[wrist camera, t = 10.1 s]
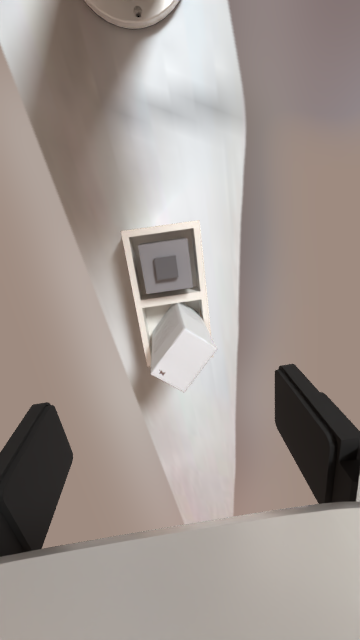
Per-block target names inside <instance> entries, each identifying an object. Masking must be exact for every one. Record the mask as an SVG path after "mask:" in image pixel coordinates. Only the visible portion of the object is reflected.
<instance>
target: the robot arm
mask: <svg viewBox="0 0 360 640" xmlns="http://www.w3.org/2000/svg"><path fill="white" fill-rule="evenodd" d="M84 1H85V3H86V4H87V5H88V6H89V7H90V8H91V9H92V10H93V11H94V12H95V13H96V14H97V15H99V16H100V17H102V18H103V19H105V20H106V21H107V22H110V23H112V24H114V25H117V26H119V27H124V28H129V29H137V28H145V27H148V26H151V25H154V24H156V23H157V22H159V21H161V20H162V19H164V18H165V17H166V16H167V15H168V14H169V13H170V12H171V11H172V10H173V9H174V8H175V6H176V5H177V3H178V2H179V1H180V0H84ZM137 16H140V17H139V18H138V17H137ZM275 423H276V426H277V429H278V431H279V432H280V434H281V436H282V438H283V440H284V442H285V443H286V445H287V447H288V449H289V451H290V452H291V454H292V456H293V458H294V460H295V461H296V463H297V465H298V467H299V469H300V471H301V472H302V474H303V476H304V478H305V480H306V481H307V483H308V485H309V487H310V489H311V490H312V492H313V494H314V496H315V498H316V499H317V501H318V503H319V504H315V505H308V506H301V507H294V508H287V509H280V510H273V511H267V512H260V513H254V514H248V515H242V516H235V517H229V518H223V519H216V520H210V521H204V522H198V523H192V524H186V525H180V526H173V527H167V528H161V529H155V530H150V531H143V532H137V533H131V534H125V535H119V536H114V537H108V538H102V539H96V540H90V541H84V542H79V543H73V544H67V545H61V546H55V547H50V548H44V549H42V546H43V543H44V540H45V537H46V534H47V532H48V529H49V526H50V523H51V520H52V518H53V515H54V511H55V509H56V506H57V503H58V500H59V498H60V495H61V492H62V489H63V486H64V484H65V481H66V478H67V475H68V472H69V469H70V467H71V464H72V460H73V453H72V450H71V448H70V445H69V442H68V440H67V437H66V434H65V432H64V429H63V427H62V424H61V422H60V419H59V416H58V414H57V411H56V409H55V407H54V406H53V405H50V404H49V403H41V404H34V405H32V406H31V408H30V409H29V411H28V412H27V414H26V415H25V417H24V418H23V420H22V421H21V423H20V424H19V426H18V427H17V429H16V430H15V432H14V433H13V435H12V436H11V437H10V439H9V440H8V442H7V444H6V445H5V446H4V448H3V450H2V451H1V452H0V640H360V431H359V430H358V429H357V428H356V427H355V426H354V425H353V424H352V423H351V421H350V420H348V418H347V417H346V416H345V415H344V414H343V413H342V412H341V411H340V410H339V408H338V407H337V406H336V405H335V404H334V403H333V402H332V401H331V400H330V399H329V398H328V397H327V395H325V394H324V393H321V392H319V391H318V390H317V389H316V388H315V387H314V385H312V383H311V382H310V381H309V380H308V379H307V378H306V377H305V375H304V374H303V373H302V372H301V371H300V370H299V369H298V368H297V367H296V366H295V365H294V364H289V365H283V366H279V370H276V371H275Z"/></svg>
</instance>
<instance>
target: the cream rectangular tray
mask: <svg viewBox="0 0 360 640" xmlns="http://www.w3.org/2000/svg"><path fill="white" fill-rule="evenodd" d="M121 235H122V240H123V245H124V250H125V255H126V260H127V266H128V271H129V276H130V281H131V286H132V291H133V296H134V301H135V306H136V312H137V317H138V322H139V327H140V332H141V337H142V342H143V347H144V352H145V358H146V363H147V367H151V353H152V333H153V330H154V329H155V327H156V326H157V324H158V323H159V321H160V320H161V319H162V317H163V316H164V314H165V313H166V311H167V310H168V308H169V307H170V306H171V304H173V303H180V302H183V303H185V304H186V305H188V306H189V307H191V308H192V309H194V310H195V311H197V312H198V313H200V315H201V317H202V319H203V321H204V323H205V325H206V327H207V329H208V331H209V333H210V335H211V329H210V319H209V309H208V299H207V289H206V280H205V270H204V260H203V250H202V240H201V230H200V221H199V220H197V221H190V222H183V223H176V224H169V225H162V226H155V227H147V228H140V229H133V230H126V231H121ZM177 238H187V240H188V248H189V257H190V265H191V274H192V282H193V287H192V288H185V289H178V290H172V291H165V292H158V293H151V294H146V288H145V283H144V277H143V271H142V266H141V260H140V255H139V249H138V245H140V244H142V243H149V242H156V241H163V240H170V239H177ZM212 357H213V355H212Z"/></svg>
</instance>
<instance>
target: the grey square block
mask: <svg viewBox="0 0 360 640" xmlns="http://www.w3.org/2000/svg"><path fill="white" fill-rule="evenodd" d="M138 249H139V255H140V260H141V266H142V271H143V277H144V283H145V288H146V294H151V293H158V292H165V291H172V290H178V289H185V288H192V287H193V282H192V274H191V265H190V257H189V248H188V240H187V238H177V239H170V240H163V241H156V242H149V243H142V244H140V245H138Z"/></svg>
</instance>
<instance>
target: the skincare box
mask: <svg viewBox="0 0 360 640" xmlns="http://www.w3.org/2000/svg"><path fill="white" fill-rule="evenodd" d="M216 350H217V347H216V345H215V343H214V341H213V339H212V337H211V335H210V333H209V331H208V329H207V327H206V325H205V323H204V321H203V319H202V317H201V315H200V313H198V312H197V311H195V310H194V309H192V308H191V307H189V306H188V305H186V304H185V303H183V302H180V303H173V304H171V306H170V307H169V308H168V310H167V311H166V313H165V314H164V316H163V317H162V319H161V320H160V321H159V323H158V324H157V326H156V327H155V329H154V330H153V333H152V353H151V373H150V374H151V375H152V376H154V377H156V378H158V379H160V380H162V381H164V382H166V383H168V384H169V385H171V386H173V387H175V388H177V389H178V390H180V391H182V392H185V391H186V390H187V388H188V387H189V386H190V384H191V383H192V382H193V381H194V379H195V378H196V377H197V375H198V374H199V373H200V371H201V370H202V369H203V367H204V366H205V365H206V363H207V362H208V361H209V359H210V358H211V357H212V355H213V354H214V353H215V352H216Z"/></svg>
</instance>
